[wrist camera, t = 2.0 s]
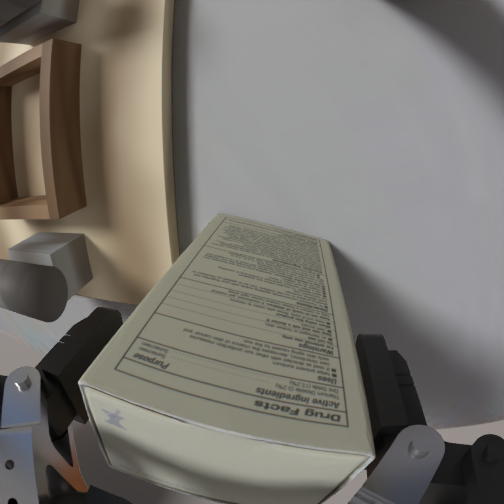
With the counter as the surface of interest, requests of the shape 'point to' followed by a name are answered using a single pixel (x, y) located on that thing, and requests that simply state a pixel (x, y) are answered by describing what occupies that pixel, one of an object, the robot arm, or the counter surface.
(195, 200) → the counter surface
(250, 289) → the skincare box
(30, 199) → the board
